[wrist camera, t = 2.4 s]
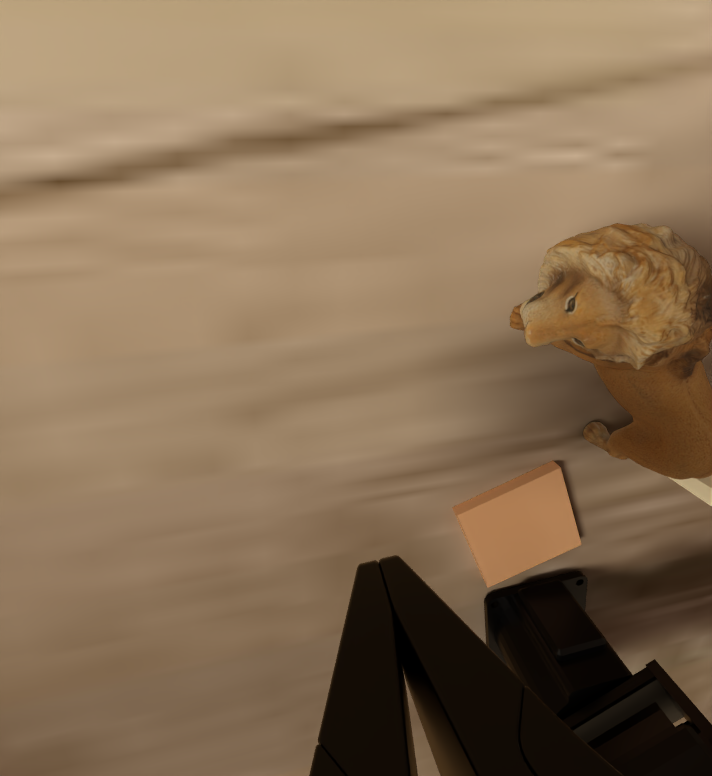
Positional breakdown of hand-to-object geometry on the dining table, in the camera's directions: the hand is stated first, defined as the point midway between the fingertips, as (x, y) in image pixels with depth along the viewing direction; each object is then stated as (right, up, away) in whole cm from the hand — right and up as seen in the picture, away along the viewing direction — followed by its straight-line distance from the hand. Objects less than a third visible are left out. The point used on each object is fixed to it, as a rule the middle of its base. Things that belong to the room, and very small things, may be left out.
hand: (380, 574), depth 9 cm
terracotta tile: (+9, -4, +16) cm, 18 cm away
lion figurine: (+9, +6, +12) cm, 16 cm away
